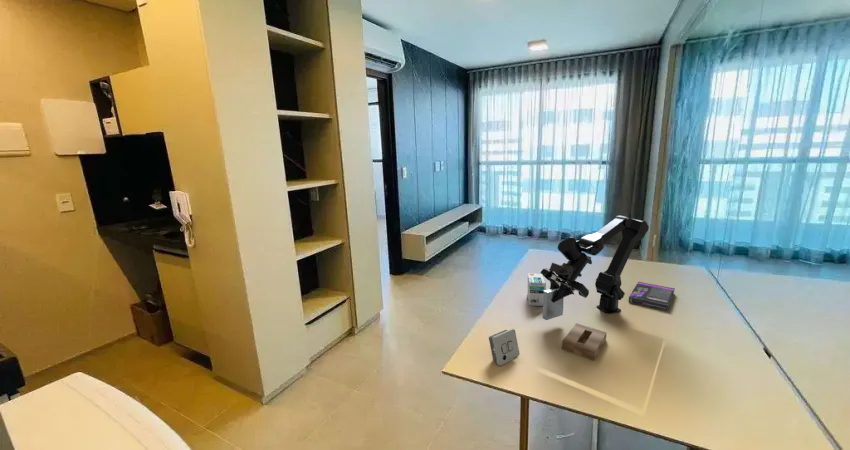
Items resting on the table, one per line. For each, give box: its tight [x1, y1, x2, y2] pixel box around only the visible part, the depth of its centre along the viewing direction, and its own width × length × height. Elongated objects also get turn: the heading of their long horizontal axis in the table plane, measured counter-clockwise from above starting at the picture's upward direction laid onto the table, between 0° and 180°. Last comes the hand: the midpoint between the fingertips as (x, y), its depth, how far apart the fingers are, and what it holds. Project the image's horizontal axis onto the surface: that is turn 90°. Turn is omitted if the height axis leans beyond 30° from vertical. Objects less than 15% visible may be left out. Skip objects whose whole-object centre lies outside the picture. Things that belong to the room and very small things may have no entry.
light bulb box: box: [526, 272, 547, 307], centre depth 146 cm, size 11×7×11 cm, turn 168°
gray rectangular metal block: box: [542, 286, 565, 321], centre depth 123 cm, size 8×2×11 cm, turn 114°
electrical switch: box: [488, 328, 520, 366], centre depth 109 cm, size 9×5×9 cm, turn 121°
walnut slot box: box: [561, 323, 608, 361], centre depth 113 cm, size 14×10×4 cm
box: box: [628, 281, 675, 312], centre depth 144 cm, size 14×4×20 cm
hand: (550, 300), depth 122 cm, fingers closed on gray rectangular metal block, 2 cm apart
